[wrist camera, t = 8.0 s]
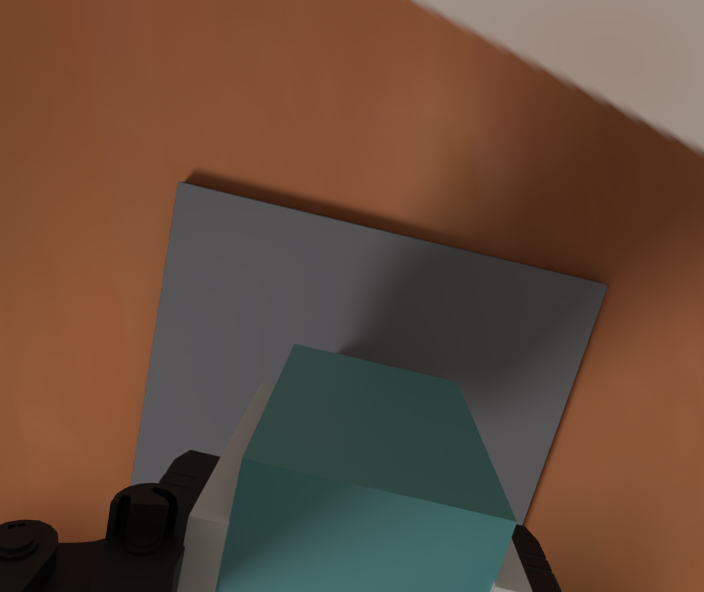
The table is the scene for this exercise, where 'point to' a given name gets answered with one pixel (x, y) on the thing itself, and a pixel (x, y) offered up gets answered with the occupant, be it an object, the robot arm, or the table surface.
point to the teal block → (364, 486)
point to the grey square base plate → (353, 327)
